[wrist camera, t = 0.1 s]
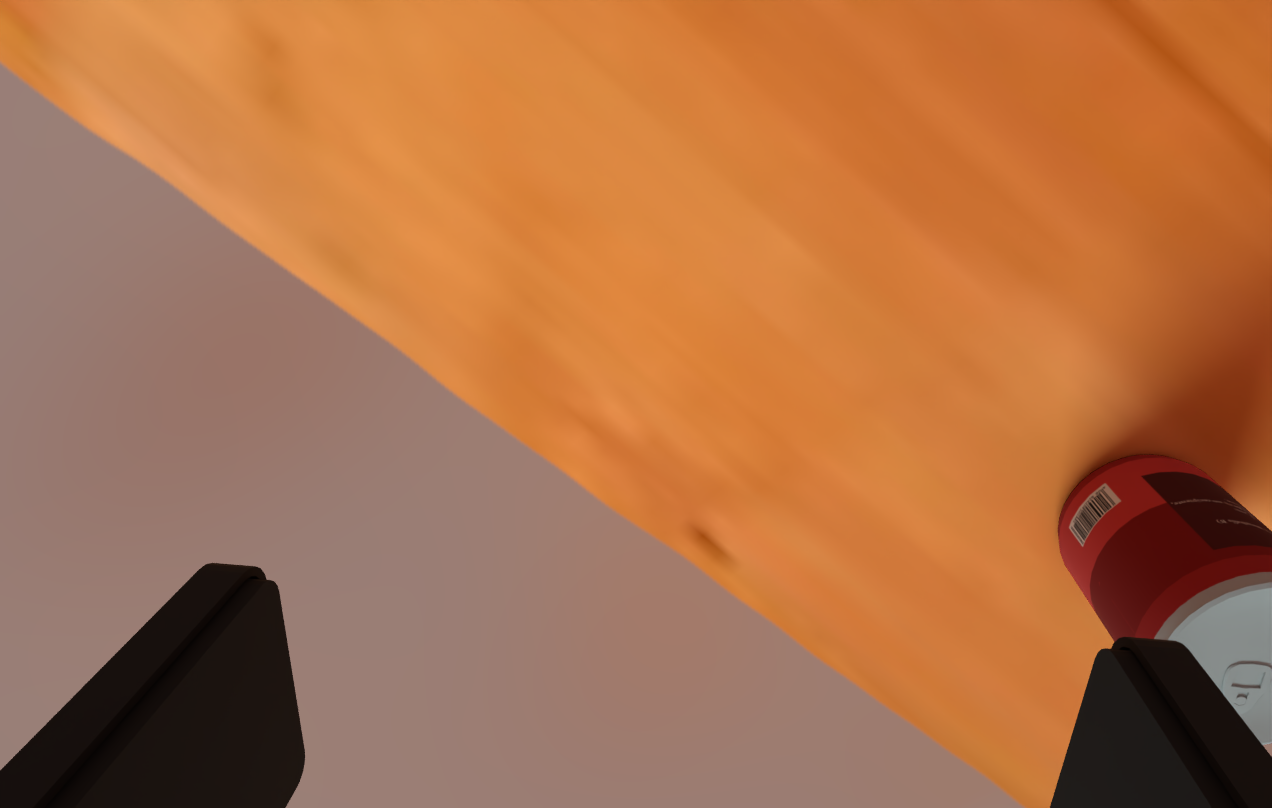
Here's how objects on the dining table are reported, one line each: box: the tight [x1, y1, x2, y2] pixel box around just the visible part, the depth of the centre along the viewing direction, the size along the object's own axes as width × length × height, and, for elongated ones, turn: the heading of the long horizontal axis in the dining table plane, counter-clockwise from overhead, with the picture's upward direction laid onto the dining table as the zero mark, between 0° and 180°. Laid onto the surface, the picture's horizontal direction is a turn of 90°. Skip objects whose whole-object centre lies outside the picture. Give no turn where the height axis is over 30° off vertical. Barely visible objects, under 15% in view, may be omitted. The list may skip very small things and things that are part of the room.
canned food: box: [1058, 455, 1272, 745], centre depth 37 cm, size 8×8×11 cm
